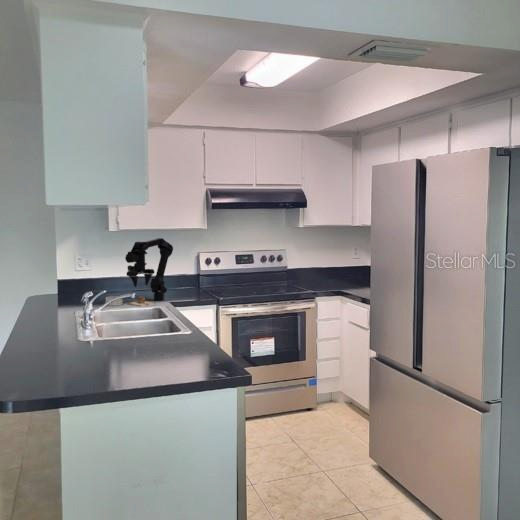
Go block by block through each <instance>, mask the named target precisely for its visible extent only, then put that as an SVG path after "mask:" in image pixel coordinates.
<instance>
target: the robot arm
mask: <svg viewBox="0 0 520 520" xmlns="http://www.w3.org/2000/svg"><path fill="white" fill-rule="evenodd" d="M156 246H157V248H158V250H159V254H160V257H159V258H160V259H159V261H158V266H157V270H156V274H155V270H154V268H146V265H147V262H146V255H148V252H147V251H146V250H149V248H152V247H156ZM173 251H174V246H173V245H172V244H171V243H170V242H168V241H167V240H165V239H164V238H160V237H159V238H155V239H151V240H146V241H135V242H134V244H133V246H132V248H131V250H130V251H127V254H126V255H125V258H124V259H125V262H127V263H128V264H129V265H128V266H127V272H126V276H127V277H129V279H131V281H132V283H133V286H134V288H137V286H138V280H139V279H138V278H139V276H138V275H142V274H143V276H144V282H145V283H144V284H145V286H148V285H149V284H150V289H151V292H152V293H153V302H163V301H165V293H167V290H168V289H167V287H166V286H165V281H164V276H165V272H166V268H167V264H168V259H169V258H170V256H172V255H173ZM132 263H134V264H133V265H130V264H132ZM154 274H155V277H152V276H153V275H154ZM150 280H151V281H150ZM149 282H150V283H149Z"/></svg>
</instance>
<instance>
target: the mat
mask: <svg viewBox="0 0 520 520" xmlns="http://www.w3.org/2000/svg"><path fill="white" fill-rule="evenodd" d="M157 303H158V302H156V305H158V304H157ZM156 305H155V304H151V305H146V306H134V305H126V303H122V306H128V307H135V308H144V307H149V306H156Z"/></svg>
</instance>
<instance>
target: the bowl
mask: <svg viewBox="0 0 520 520" xmlns="http://www.w3.org/2000/svg"><path fill="white" fill-rule="evenodd" d="M118 296H119V295H113V296H110V295H109V296H106V297H105V303H106V302H107V301H109V300H111V299H113V298H116V297H118ZM121 305H123V298H122V299H118V300H116V301H114V302H112V303H110V304H109V305H108V306H121Z"/></svg>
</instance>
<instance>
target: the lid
mask: <svg viewBox="0 0 520 520" xmlns="http://www.w3.org/2000/svg"><path fill="white" fill-rule="evenodd" d="M145 297H146V296H145V295H143V296H142V295H140V296H137V301H132V302H126V303H125V304H126V305H125V306H127V305H134V306H133V307H135V306H145V307H147V306H146V305H150V306H152V305H151V304H156V303H157V301H148V300H146V298H145ZM156 305H157V304H156Z"/></svg>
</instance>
